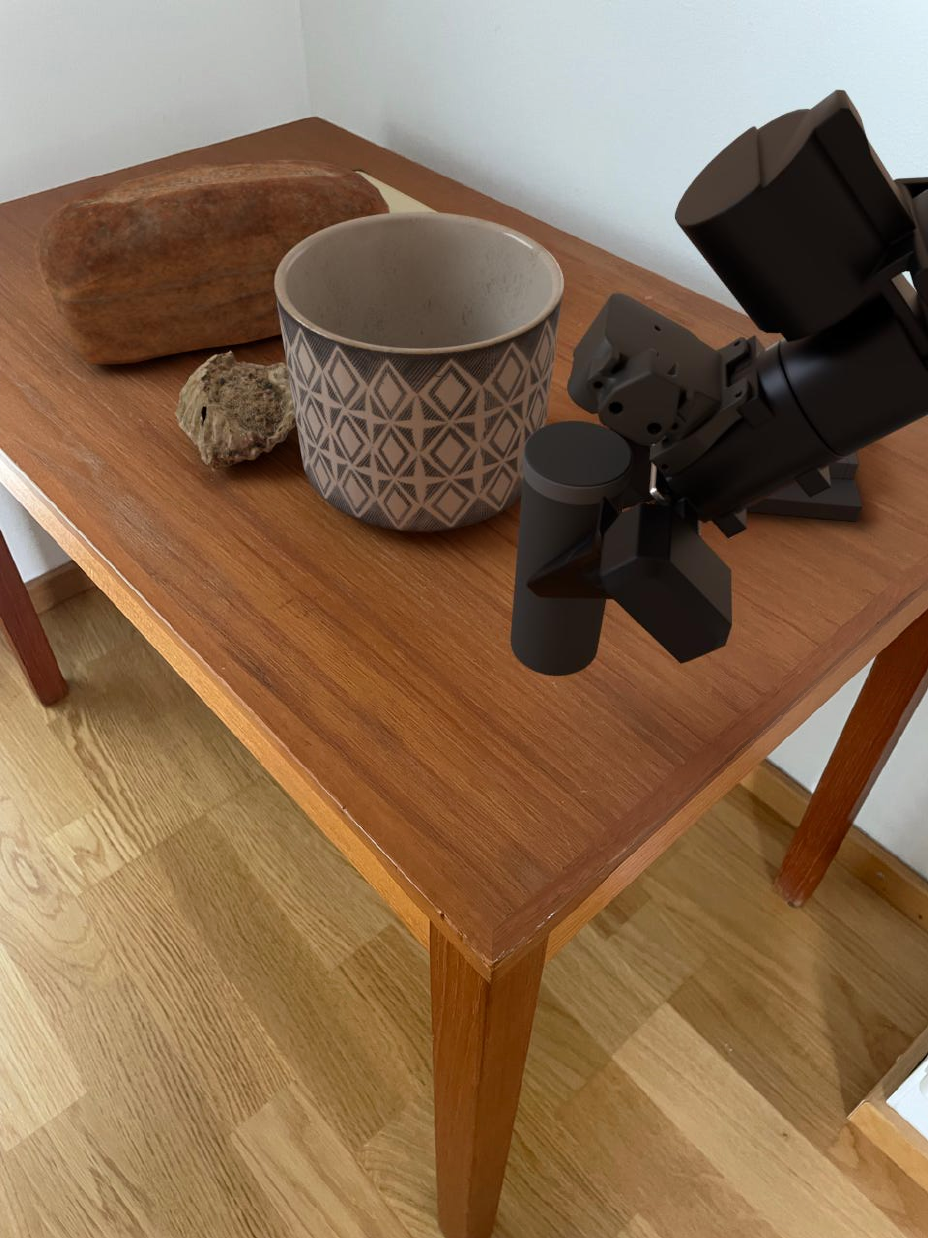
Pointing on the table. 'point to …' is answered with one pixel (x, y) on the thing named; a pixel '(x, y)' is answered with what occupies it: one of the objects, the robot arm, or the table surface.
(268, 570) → the table surface
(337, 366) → the planter
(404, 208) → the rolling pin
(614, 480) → the dark grey cylinder
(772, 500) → the base pad
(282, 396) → the seashell
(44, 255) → the bread
